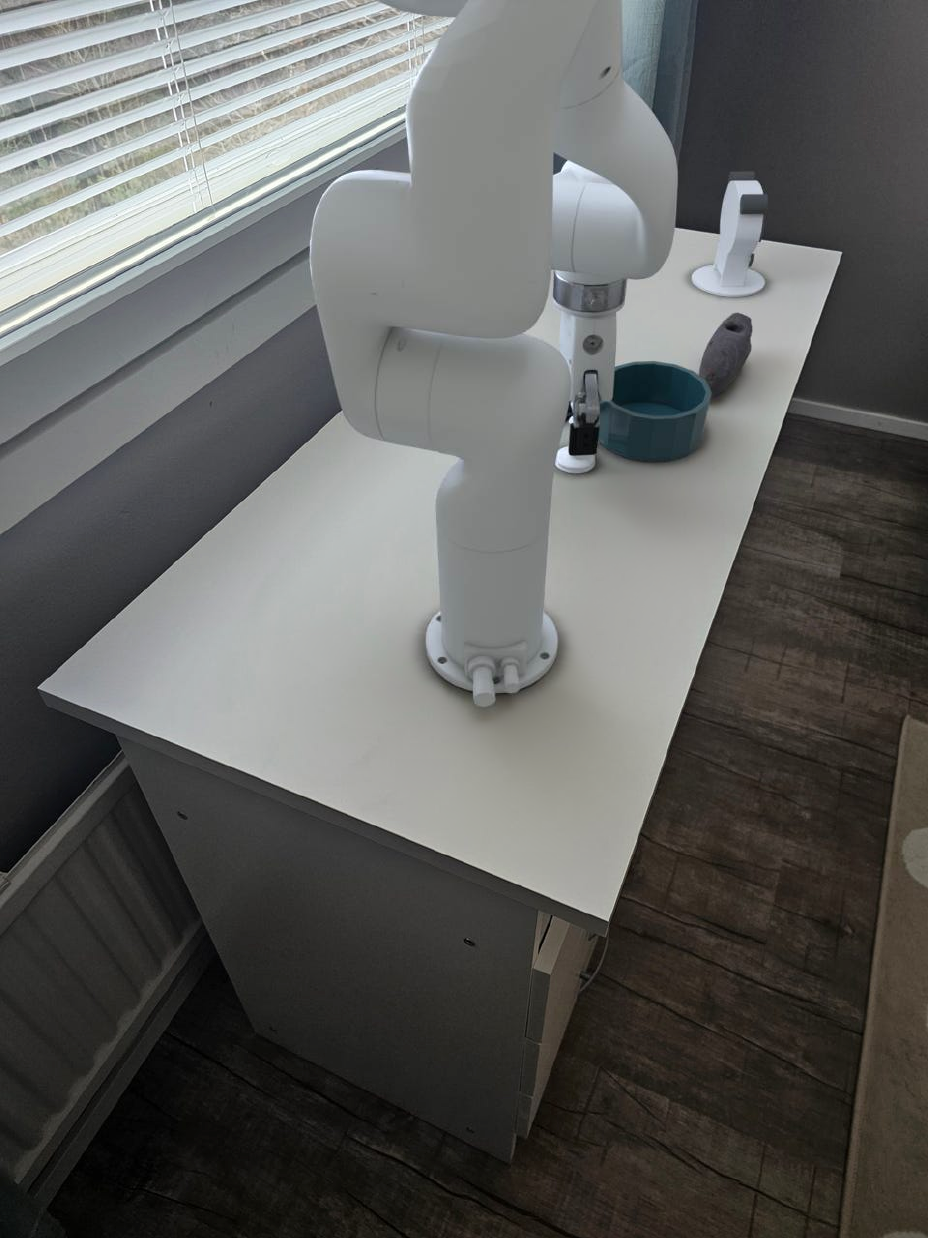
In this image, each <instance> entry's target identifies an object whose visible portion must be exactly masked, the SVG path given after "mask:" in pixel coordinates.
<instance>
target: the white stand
mask: <svg viewBox="0 0 928 1238" xmlns="http://www.w3.org/2000/svg"><path fill="white" fill-rule="evenodd" d="M728 174H729V175H728V180H727V186H726V189H725V192H724V193H725V194H724V197H723V201H722V206H721V211H720V223H719V238H718V243H717V248H716V253H715V258H714V262H713V264H709V265H705V266H702V267H699V268H697V269H695V270H694V272H693V273H692V274H691V282H692V284H693V285H694V286H695V287H696V289H699V290H701V291H703V292H705V293H708V294H711V295H715V296H718V297H727V298H728V297H729V298H738V297H739V298H740V297H742V298H743V297H748V296H752V295H755V294H758V293H759V292H761V291H762V290H763V289H764V287H765V283H766V280H765V278H764V277H763V276H762V275H761V274H760V273H759V272H758V271H756V270H753V269H751V267H752V266H753V264H754V261H755V253H754V252H755V250H756V249H757V247H758V244H759V243H761V242H762V240H763V235H764V231H765V224H766V213H767V210H768V204H769V196H768V194H767V193H764V191H763V189H762V186H761V183H760V182H759V181H758V180H755V174H756V173H755V171H730V172H729V173H728Z"/></svg>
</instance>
